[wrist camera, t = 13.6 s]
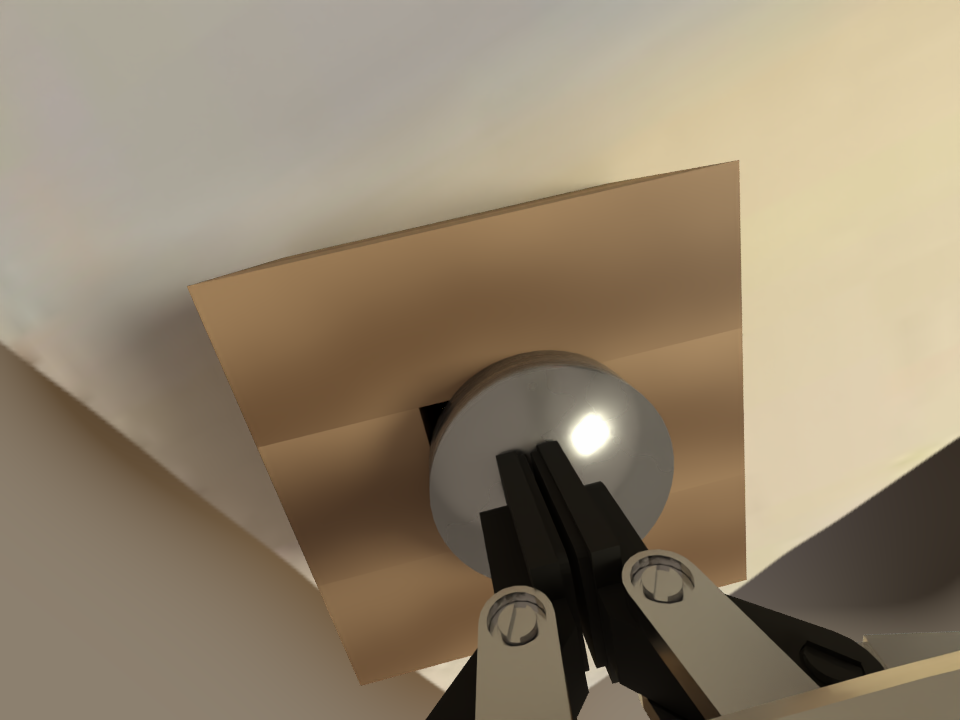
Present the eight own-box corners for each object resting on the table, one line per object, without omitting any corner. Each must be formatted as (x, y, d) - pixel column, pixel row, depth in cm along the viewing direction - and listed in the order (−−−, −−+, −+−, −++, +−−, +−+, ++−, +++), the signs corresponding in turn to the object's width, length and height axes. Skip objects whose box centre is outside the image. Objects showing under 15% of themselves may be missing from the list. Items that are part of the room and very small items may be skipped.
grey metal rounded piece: (409, 323, 19) (399, 406, 10) (561, 287, 19) (664, 340, 11) (446, 456, 21) (461, 611, 13) (582, 422, 21) (681, 552, 13)
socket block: (285, 257, 18) (186, 286, 11) (612, 182, 19) (739, 160, 11) (381, 529, 23) (360, 686, 15) (642, 462, 23) (746, 579, 16)
